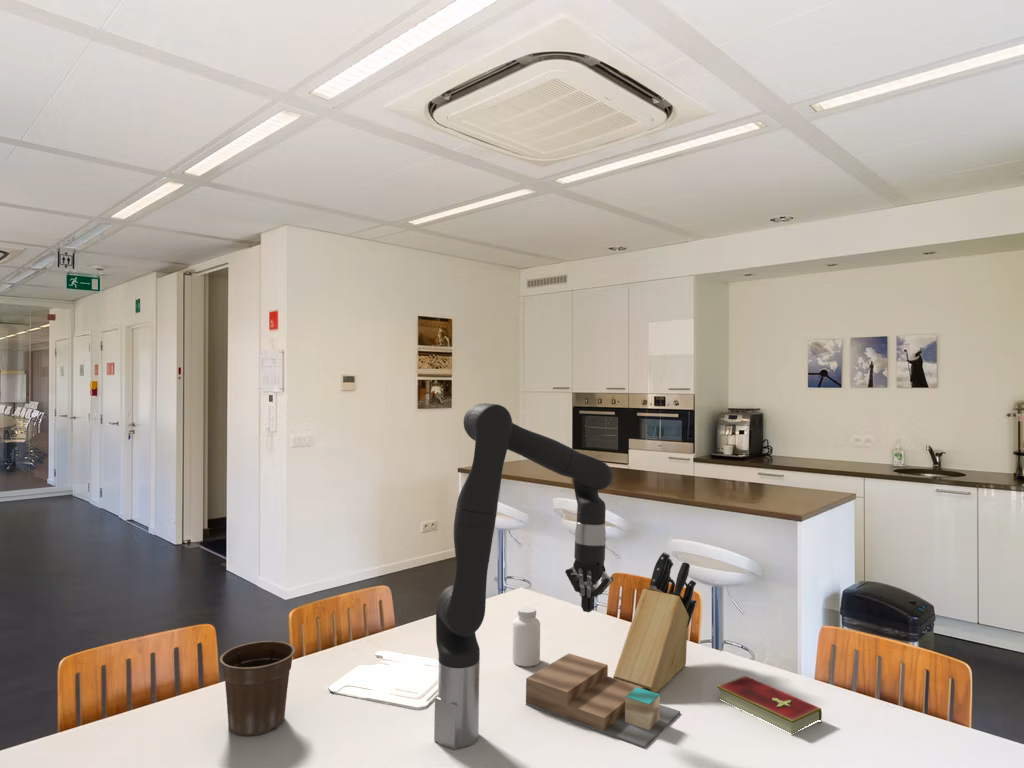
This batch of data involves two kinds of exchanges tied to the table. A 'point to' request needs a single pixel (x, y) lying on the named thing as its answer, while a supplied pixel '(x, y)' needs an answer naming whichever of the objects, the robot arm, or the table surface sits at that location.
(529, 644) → the pill bottle
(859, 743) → the table surface
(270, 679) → the plant pot
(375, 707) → the table surface
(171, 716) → the table surface
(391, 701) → the tray
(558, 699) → the walnut staircase
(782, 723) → the hardcover book
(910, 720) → the table surface
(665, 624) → the knife block
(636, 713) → the maple cube
